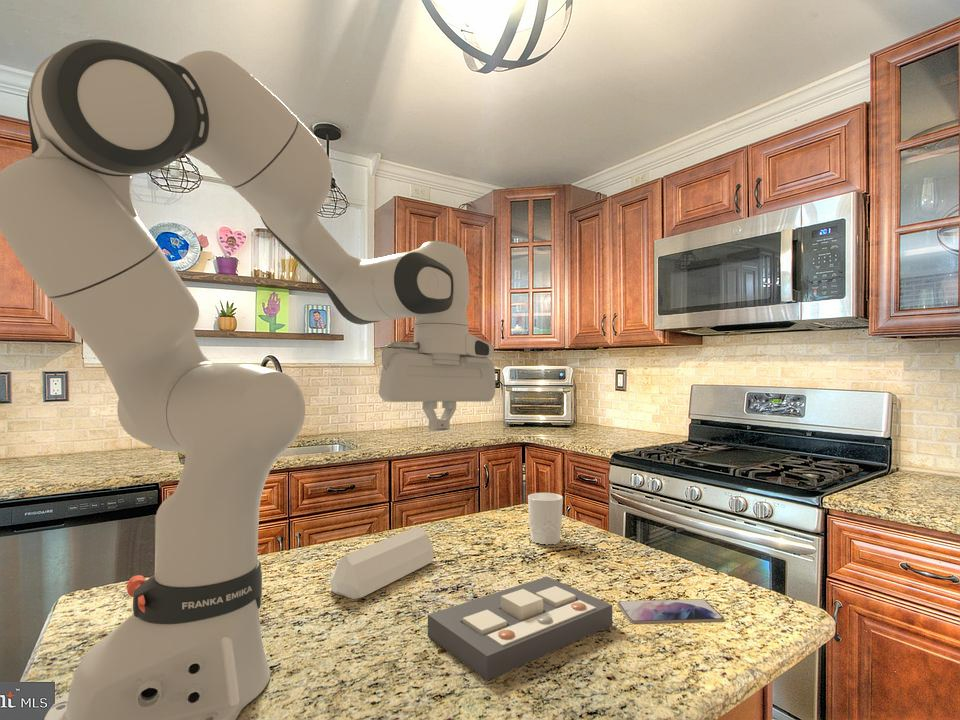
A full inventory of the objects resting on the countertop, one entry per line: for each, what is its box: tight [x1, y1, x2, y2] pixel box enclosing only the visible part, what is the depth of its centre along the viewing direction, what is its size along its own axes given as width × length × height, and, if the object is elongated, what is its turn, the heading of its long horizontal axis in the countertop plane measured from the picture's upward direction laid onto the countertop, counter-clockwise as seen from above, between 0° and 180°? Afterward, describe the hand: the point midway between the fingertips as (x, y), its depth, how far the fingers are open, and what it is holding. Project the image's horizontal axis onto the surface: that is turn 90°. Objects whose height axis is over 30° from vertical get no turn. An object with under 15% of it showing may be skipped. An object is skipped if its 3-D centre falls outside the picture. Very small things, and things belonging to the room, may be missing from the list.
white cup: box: [527, 492, 564, 545], centre depth 120 cm, size 8×8×10 cm
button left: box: [463, 610, 507, 635], centre depth 74 cm, size 4×4×3 cm
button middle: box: [501, 589, 543, 621], centre depth 78 cm, size 4×4×3 cm
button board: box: [427, 576, 613, 681], centre depth 78 cm, size 24×14×3 cm, turn 127°
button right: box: [536, 586, 576, 607], centre depth 82 cm, size 4×4×3 cm
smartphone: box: [617, 598, 725, 625], centre depth 84 cm, size 7×1×15 cm
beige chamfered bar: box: [329, 525, 434, 600], centre depth 98 cm, size 7×7×24 cm
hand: (439, 430), depth 85 cm, fingers closed
